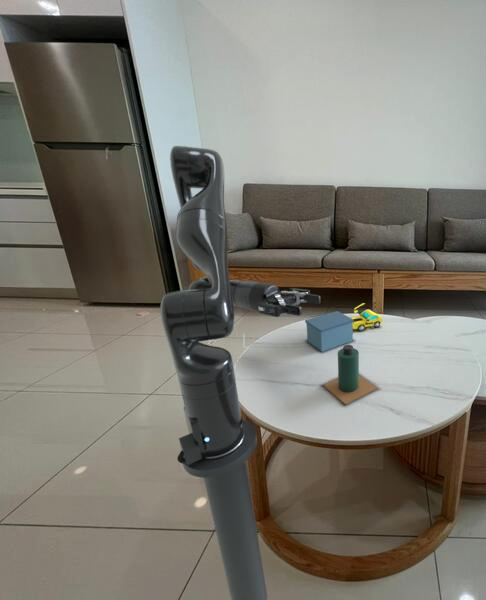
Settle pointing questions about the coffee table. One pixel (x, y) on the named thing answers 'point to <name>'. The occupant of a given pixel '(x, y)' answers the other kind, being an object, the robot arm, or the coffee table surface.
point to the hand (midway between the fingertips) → (310, 305)
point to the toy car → (366, 319)
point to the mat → (349, 397)
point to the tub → (329, 330)
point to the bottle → (348, 369)
